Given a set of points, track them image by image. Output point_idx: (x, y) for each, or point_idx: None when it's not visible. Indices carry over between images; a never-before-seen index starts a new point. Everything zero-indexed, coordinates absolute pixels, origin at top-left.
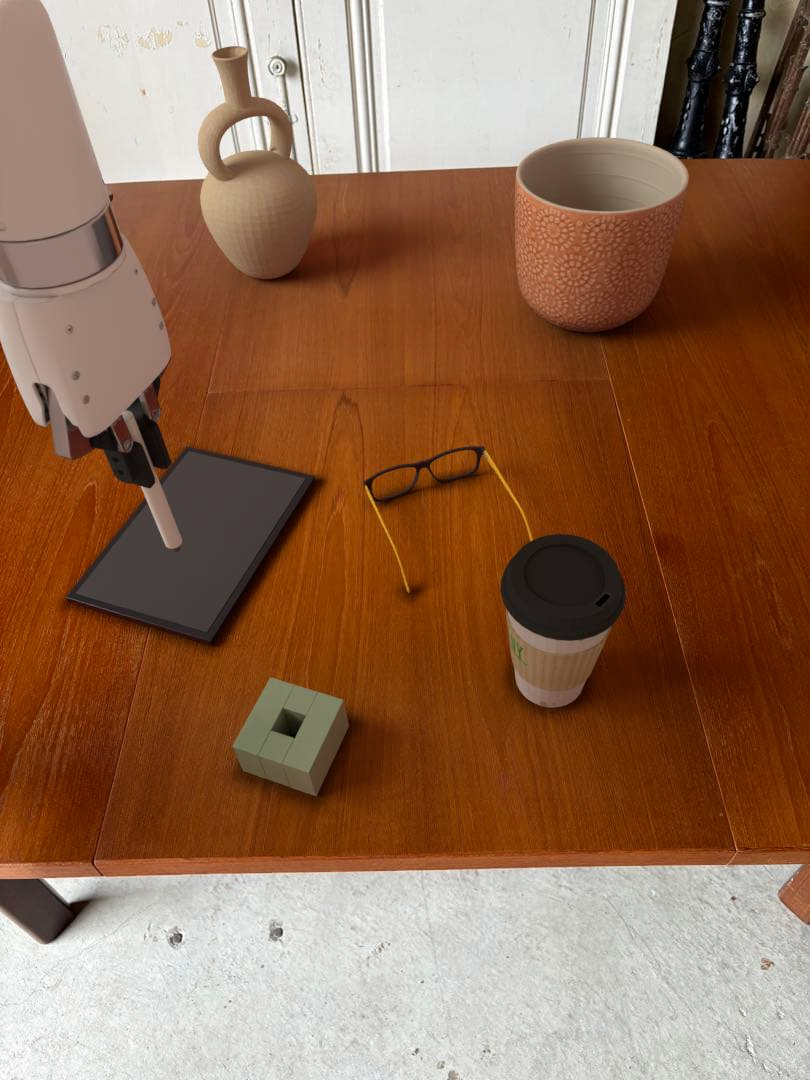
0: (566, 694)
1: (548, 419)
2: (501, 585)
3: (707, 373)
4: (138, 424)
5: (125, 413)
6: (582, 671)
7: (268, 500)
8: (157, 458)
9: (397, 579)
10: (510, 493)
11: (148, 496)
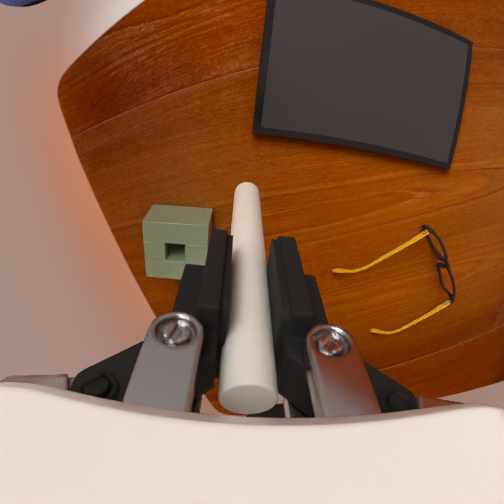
0: None
1: (475, 310)
2: (277, 406)
3: (480, 364)
4: (278, 365)
5: (264, 399)
6: None
7: (422, 134)
8: None
9: (346, 257)
10: (410, 324)
11: None
